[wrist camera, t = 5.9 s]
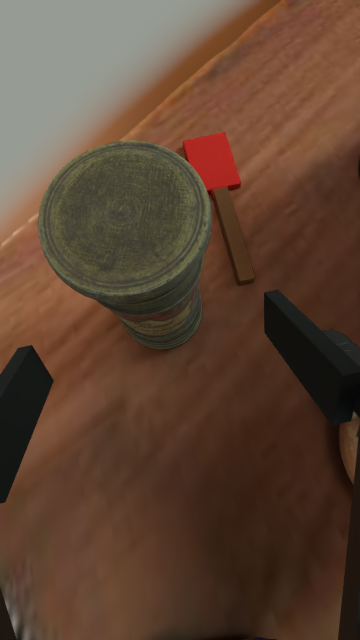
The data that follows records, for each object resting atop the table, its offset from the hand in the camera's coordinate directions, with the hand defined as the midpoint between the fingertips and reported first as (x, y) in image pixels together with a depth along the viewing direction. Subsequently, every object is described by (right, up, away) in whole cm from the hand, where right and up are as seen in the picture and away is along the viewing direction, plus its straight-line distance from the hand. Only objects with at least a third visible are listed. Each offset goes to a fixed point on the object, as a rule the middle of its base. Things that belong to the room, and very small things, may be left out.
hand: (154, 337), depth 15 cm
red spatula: (+7, +15, +17) cm, 24 cm away
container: (-1, +2, +15) cm, 15 cm away
